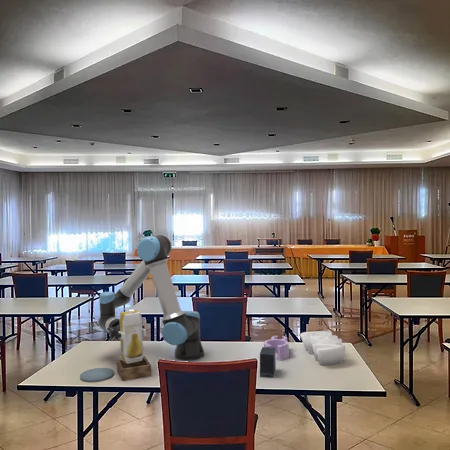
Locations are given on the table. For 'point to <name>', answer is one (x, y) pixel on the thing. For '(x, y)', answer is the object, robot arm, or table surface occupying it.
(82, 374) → the rubber coaster
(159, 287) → the robot arm
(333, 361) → the white wavy slab sculpture
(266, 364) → the small box
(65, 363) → the table surface
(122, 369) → the walnut collar
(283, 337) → the lilac desk organizer
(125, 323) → the juice carton
